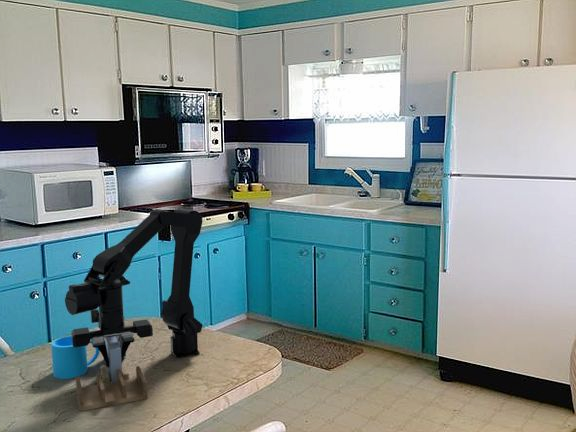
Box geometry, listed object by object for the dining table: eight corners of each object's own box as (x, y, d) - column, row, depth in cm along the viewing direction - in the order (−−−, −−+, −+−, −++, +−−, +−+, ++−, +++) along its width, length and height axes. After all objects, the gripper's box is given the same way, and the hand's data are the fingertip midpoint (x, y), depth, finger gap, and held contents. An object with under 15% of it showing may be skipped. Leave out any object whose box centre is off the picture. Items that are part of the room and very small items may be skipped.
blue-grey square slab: (117, 370, 152) (115, 336, 150) (122, 383, 143) (120, 348, 142) (107, 371, 151) (105, 337, 149) (111, 385, 142) (110, 350, 141)
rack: (140, 381, 145) (139, 365, 144) (147, 398, 136) (147, 381, 135) (76, 392, 139) (75, 376, 138) (79, 411, 130) (78, 393, 129)
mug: (60, 381, 145) (58, 349, 144) (48, 371, 151) (46, 341, 150) (107, 368, 153) (105, 338, 152) (93, 359, 159) (91, 330, 158)
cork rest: (124, 369, 152) (123, 362, 152) (129, 381, 145) (128, 374, 144) (101, 373, 150) (100, 366, 149) (104, 386, 142) (104, 378, 142)
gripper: (143, 292, 155) (146, 349, 158) (68, 301, 148) (71, 360, 150) (151, 303, 145) (154, 364, 147) (71, 313, 138) (75, 377, 140)
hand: (114, 366), depth 147 cm, fingers closed on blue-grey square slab, 2 cm apart
